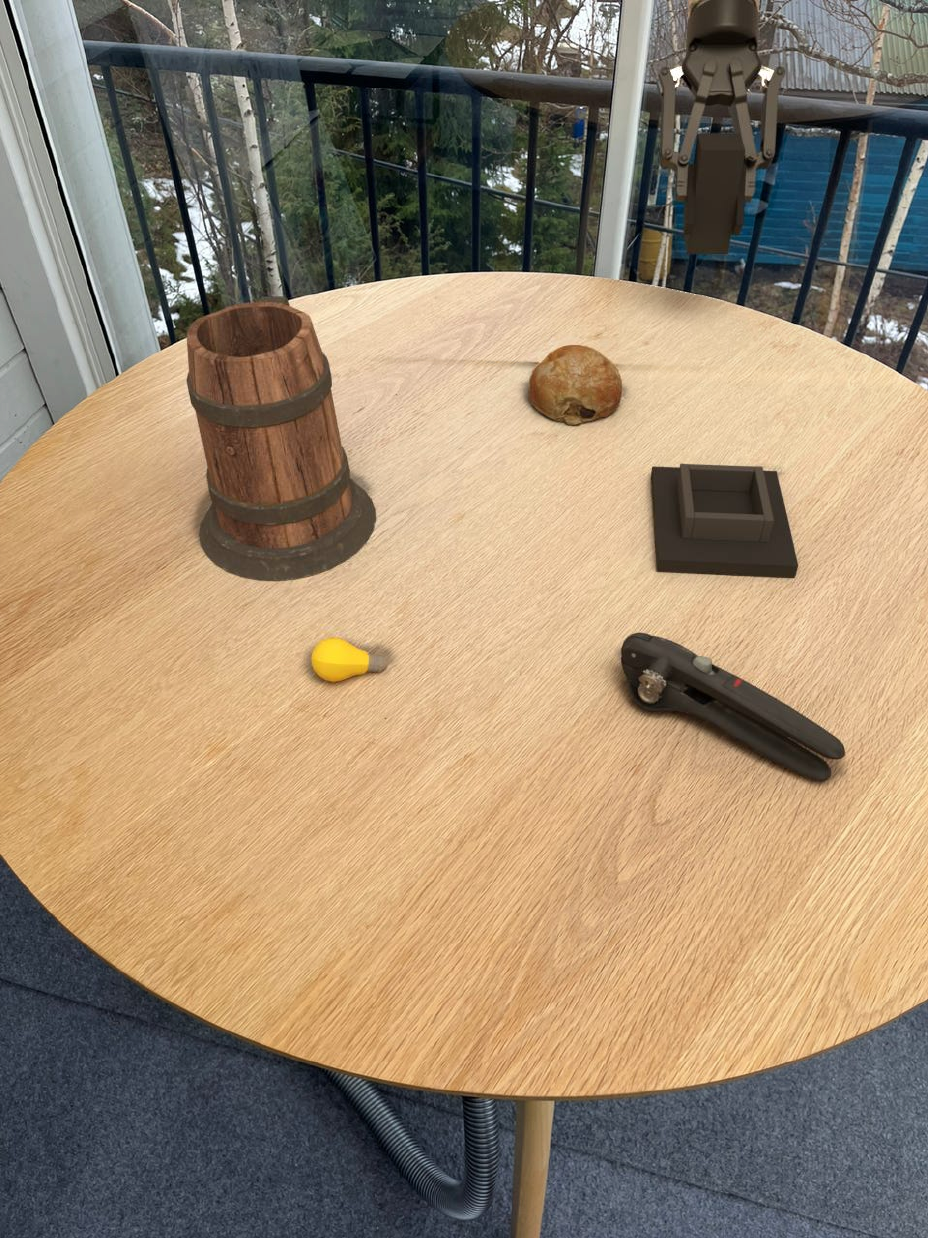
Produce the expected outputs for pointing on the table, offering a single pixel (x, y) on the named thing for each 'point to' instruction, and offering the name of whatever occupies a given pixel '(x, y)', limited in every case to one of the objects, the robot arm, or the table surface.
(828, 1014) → the table surface
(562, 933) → the table surface
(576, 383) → the bread roll
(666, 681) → the can opener
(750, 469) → the base pad
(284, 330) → the tankard
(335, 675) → the light bulb
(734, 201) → the tall dark pillar
